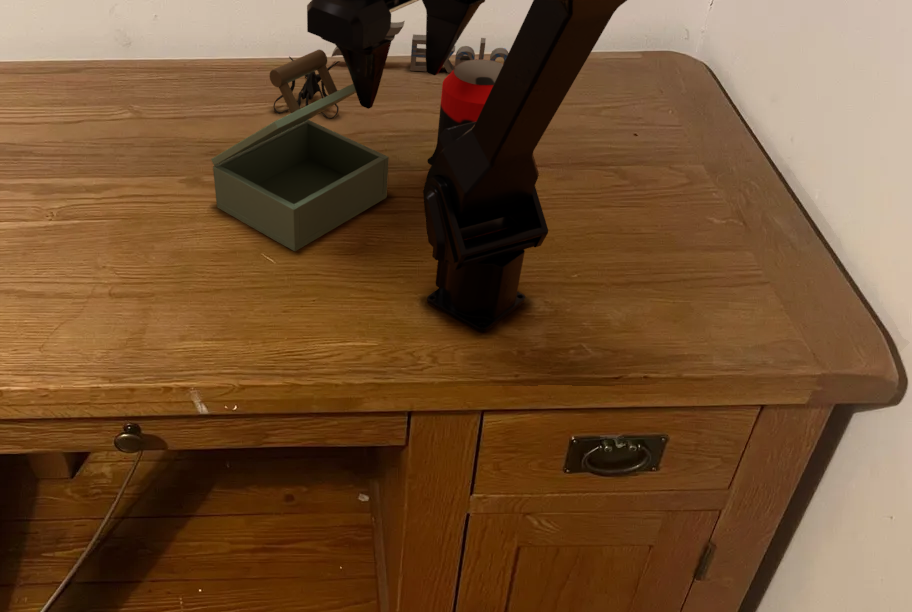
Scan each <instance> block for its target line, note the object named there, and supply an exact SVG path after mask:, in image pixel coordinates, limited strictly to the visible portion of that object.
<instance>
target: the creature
mask: <svg viewBox="0 0 912 612" xmlns="http://www.w3.org/2000/svg"><path fill="white" fill-rule="evenodd" d="M288 58H289V59H290V61H293V60H294V59H293V58H292V57H291V56H290V55H289V56H288ZM338 63H340V60H337V61H336V62H334V63H333V64H332V65H330V66H328V67H327V69H328V71H329V72H330V70H331V69H332V68H334V67H335V66H336V65H338ZM304 80H305V82H304V83H303V86H302V87H301V90H300V91H299V92H298V97H297V99H296V101H297V103H298V105H299V107H301V105H302V100H305V103H304V104H305V105H304V107H305V106H307V105H309V104H310V102H309V101H312V100H313V98H314V96H315V95H316V94H317V93H319V94H320V99H322V98H324V97H326V96H328V93H326V88H325V86H324V84H323V82H322V80H321V77H320V75H319V73H316V71H314V72H311V73H309V74H307V75H305V76H304ZM319 83H320V84H319ZM295 87H296V80H294V81H292V82H291V85H290V89H291V91H292V93H293V91H294V89H295ZM282 98H283V96H282V94H281V95H280V96H278V97H277V98H276V100H275V101H274V103H273V110H274V112H275V113H277V114H282V113H285V112H288V111H290V110H289V108H287V109H285V110H283V111H278V110H277V109H276V103H277V101H279V100H281V99H282ZM334 106H335V108H336V113H335V114H334V116H331V117H328V116H327V115H326V113H324V112H321V113H320V114H322V115H324V117H325V118H327V119H328V120H329V119H333V118H335V117H336V116H338V114H339V106H338V103H337V104H335V105H334Z"/></svg>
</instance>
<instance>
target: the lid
mask: <svg viewBox="0 0 912 612" xmlns="http://www.w3.org/2000/svg"><path fill="white" fill-rule="evenodd" d="M327 64H328V56H327V54H326V53H325V51H324V50H322V49H316V50H314V51H312V52H310V53H307V54H304V55H303V56H300V57H298V58H296V59H293V61H292V60H290V61H289V62H287V63H285V64H283V65H280V66H278V67H275V68H273V69H271V70H270V72H269V80H270V83H271V84H272V86H274V87H275V88H278V89H279V91H280V93H281V95H282V96H283V97H282V98H283V100H284V102H285V104H286V107H287V109H289V110H288V111H289V112H290V113H288V114H287V115H285V116H282V117H280V118H278V119H276V120H274V121H272V122H270V123H269V124H267V125H266V126H264V127H262V128H261V129H259V130H257V131H256V132H254V133H252V134H250V135H249V136H247V137H245V138H244V139H243V140H241V141H239V142H237V143H235V144H234V145H231V146H230V147H229V148H227V149H225V150H223V151H222V152H221V153H218V154H217V155H215V156H214V157H212V158H210V161H211V162H212V164H213V166H215V165H217V164H219V163H221V162H223V161H225V160H227V159H229V158H231V157H233V156H235V155H237V154H239V153H241V152H243V151H245V150H247V149H249V148H251V147H253V146H255V145H257V144H260V143H262V142H264V141H266V140H268V139H270V138H272V137H274V136H276V135H278V134H280V133H282V132H284V131H286V130H288V129H290V128H292V127H294V126H296V125H298V124H300V123H302V122H304V121H306V120H311V119H312V118H314V117H315V116H317V115H319V114H322V113H324V111H327V109H330V108H331V107H333V106H335V104H337V105H338V104H339V103H340V102H342V101H344V100H345V99H347V98H349V97H351V96H352V95H354V94H357V93H356V90H355V87H354V84H353V83H351V84H349V85H347V86H345V87H342V88H340V89H339V90H338V88H337V86H336V84H335V82H334V80H333V78H332V75H331V73H330V70H329V71H328V69H327V68H328V67H327ZM314 71H315V72H316V71H317V74H319V75H320V77H321V80H322V82H323V84H324V89H325V91H326V92H327V95H328V96H326V97H324V96H323V98H322V99H321V98H320V99H317V100H316V101H314V102H312V103H308V104H309V105H307V106H305V105H304V107H302V108H300V107H301V106H300V107H299V105H298V102H297V99H296V97H295V95H294V93H293V92H292V91H291V89H290V88H291V85H290V84H289V83H292V81H294V80H295V81H296V80H299V79H300V78H303V77H305V75H307V74H309V73H311V72H314ZM321 80H320V81H321ZM321 112H322V113H321Z"/></svg>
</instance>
